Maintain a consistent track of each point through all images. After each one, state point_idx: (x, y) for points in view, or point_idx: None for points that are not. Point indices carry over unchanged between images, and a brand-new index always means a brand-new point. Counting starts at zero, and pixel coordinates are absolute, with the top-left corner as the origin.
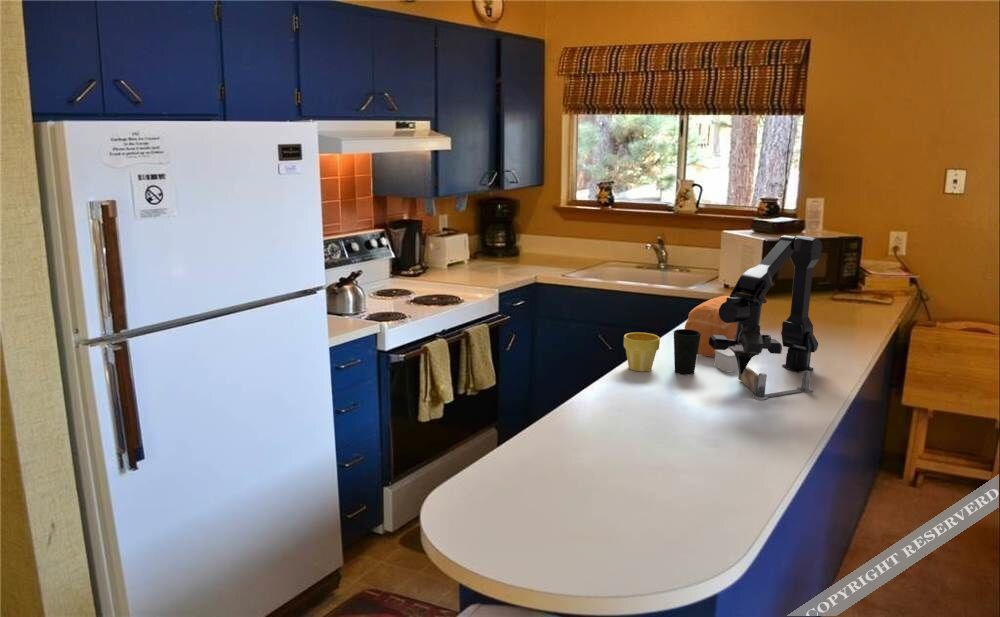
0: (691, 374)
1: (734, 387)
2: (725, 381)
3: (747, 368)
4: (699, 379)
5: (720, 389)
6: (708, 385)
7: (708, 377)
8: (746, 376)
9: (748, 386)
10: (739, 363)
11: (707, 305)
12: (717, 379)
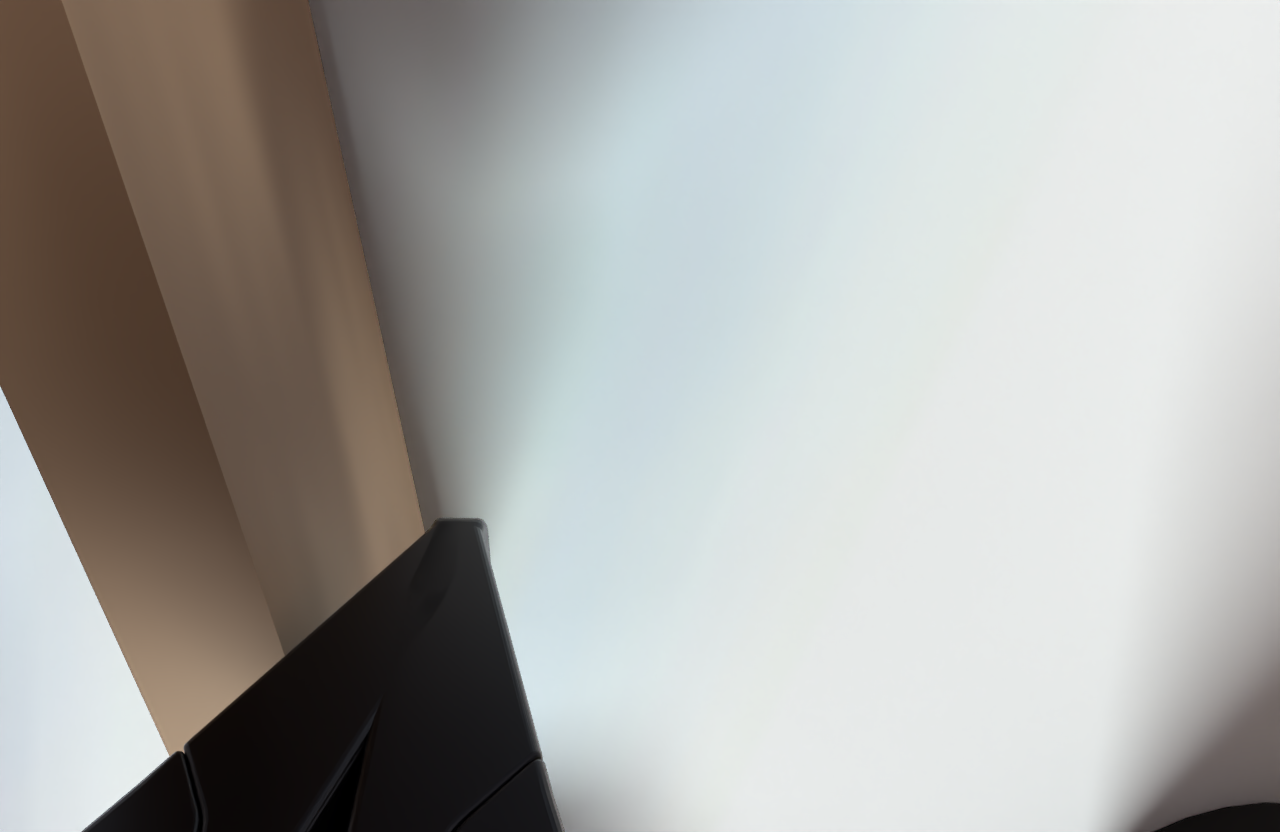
0: (1177, 826)
1: (663, 236)
2: (728, 580)
3: (228, 659)
4: (1173, 646)
5: (1073, 69)
6: (1200, 342)
7: (955, 738)
8: (323, 424)
9: (331, 143)
10: (542, 773)
11: None
12: (839, 664)
